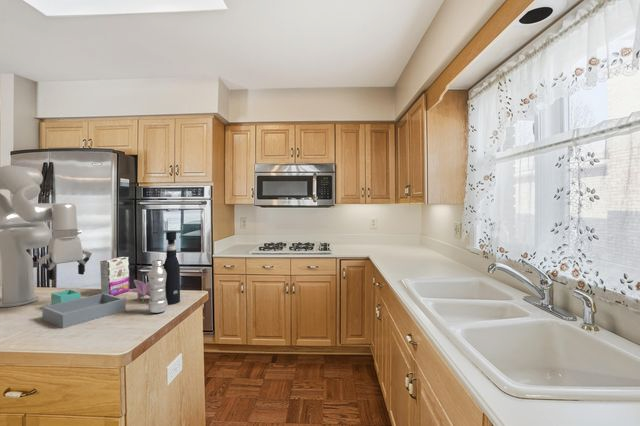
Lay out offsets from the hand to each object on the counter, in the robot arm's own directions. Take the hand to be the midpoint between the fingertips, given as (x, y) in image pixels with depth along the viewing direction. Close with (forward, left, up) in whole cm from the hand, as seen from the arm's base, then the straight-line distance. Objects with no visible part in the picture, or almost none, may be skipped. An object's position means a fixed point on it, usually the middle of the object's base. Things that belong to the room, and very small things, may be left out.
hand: (66, 276), depth 121 cm
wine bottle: (+30, +25, -13) cm, 41 cm away
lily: (+18, +21, -13) cm, 30 cm away
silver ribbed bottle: (+36, +15, -13) cm, 41 cm away
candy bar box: (-4, +20, -13) cm, 24 cm away
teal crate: (-1, 0, -13) cm, 13 cm away
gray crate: (+15, 0, -13) cm, 20 cm away
